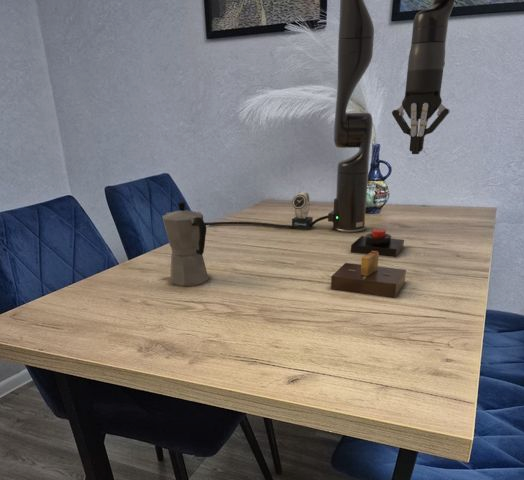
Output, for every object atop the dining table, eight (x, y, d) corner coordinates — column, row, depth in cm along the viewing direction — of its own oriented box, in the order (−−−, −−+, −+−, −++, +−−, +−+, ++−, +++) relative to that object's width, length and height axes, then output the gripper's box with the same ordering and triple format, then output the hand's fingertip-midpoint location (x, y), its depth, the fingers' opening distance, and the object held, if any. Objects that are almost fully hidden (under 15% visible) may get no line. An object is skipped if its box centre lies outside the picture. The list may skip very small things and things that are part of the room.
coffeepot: (158, 277, 114) (147, 201, 106) (191, 269, 119) (184, 195, 111) (192, 294, 103) (183, 210, 95) (227, 284, 108) (221, 204, 100)
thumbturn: (367, 276, 101) (368, 257, 99) (360, 274, 102) (361, 255, 100) (377, 270, 105) (379, 251, 103) (371, 268, 106) (372, 250, 104)
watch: (289, 230, 152) (289, 194, 147) (298, 224, 158) (298, 190, 153) (306, 231, 150) (306, 195, 145) (314, 225, 156) (315, 191, 151)
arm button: (370, 238, 126) (370, 231, 126) (373, 234, 129) (374, 228, 128) (383, 239, 125) (384, 232, 124) (386, 235, 128) (387, 229, 127)
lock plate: (330, 288, 104) (331, 275, 102) (344, 275, 112) (345, 262, 110) (394, 297, 98) (396, 283, 97) (404, 282, 106) (406, 268, 104)
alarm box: (350, 252, 127) (351, 238, 125) (360, 243, 135) (361, 229, 133) (395, 257, 123) (397, 242, 121) (403, 247, 130) (405, 233, 129)
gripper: (391, 69, 102) (383, 155, 111) (455, 65, 97) (442, 156, 105) (398, 70, 108) (391, 152, 116) (459, 67, 103) (447, 152, 111)
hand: (415, 153), depth 111 cm, fingers closed
